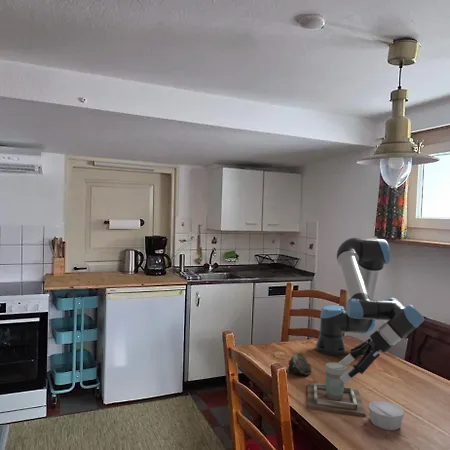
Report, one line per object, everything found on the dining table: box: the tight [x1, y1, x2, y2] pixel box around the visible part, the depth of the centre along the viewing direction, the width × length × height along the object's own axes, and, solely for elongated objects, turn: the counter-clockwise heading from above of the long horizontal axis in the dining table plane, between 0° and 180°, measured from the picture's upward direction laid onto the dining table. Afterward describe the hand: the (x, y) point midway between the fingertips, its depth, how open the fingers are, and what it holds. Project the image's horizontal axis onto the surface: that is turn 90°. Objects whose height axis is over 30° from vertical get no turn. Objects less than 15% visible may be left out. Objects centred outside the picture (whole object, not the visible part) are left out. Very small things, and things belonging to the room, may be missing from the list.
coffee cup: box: [324, 361, 348, 400], centre depth 151 cm, size 8×9×12 cm
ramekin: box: [367, 400, 405, 431], centre depth 134 cm, size 11×11×5 cm
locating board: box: [306, 382, 367, 417], centre depth 150 cm, size 20×20×2 cm
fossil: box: [287, 352, 312, 377], centre depth 176 cm, size 11×9×10 cm
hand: (340, 373), depth 149 cm, fingers open, 13 cm apart
